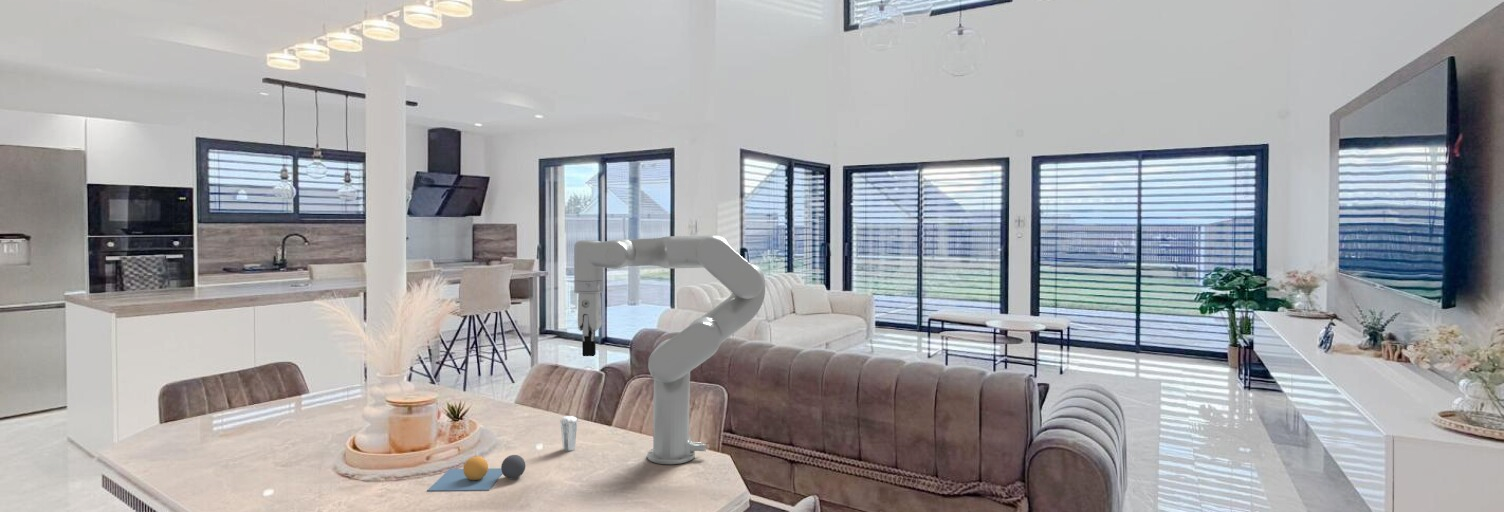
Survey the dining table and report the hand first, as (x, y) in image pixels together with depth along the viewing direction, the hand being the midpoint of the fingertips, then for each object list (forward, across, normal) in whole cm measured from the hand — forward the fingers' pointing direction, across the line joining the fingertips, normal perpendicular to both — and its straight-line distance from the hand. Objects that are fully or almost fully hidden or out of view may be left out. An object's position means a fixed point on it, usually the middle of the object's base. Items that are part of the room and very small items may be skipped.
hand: (589, 355), depth 187 cm
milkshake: (+27, +5, +6) cm, 28 cm away
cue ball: (+24, -16, +16) cm, 33 cm away
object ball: (+24, -17, +24) cm, 38 cm away
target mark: (+27, -17, +26) cm, 41 cm away
